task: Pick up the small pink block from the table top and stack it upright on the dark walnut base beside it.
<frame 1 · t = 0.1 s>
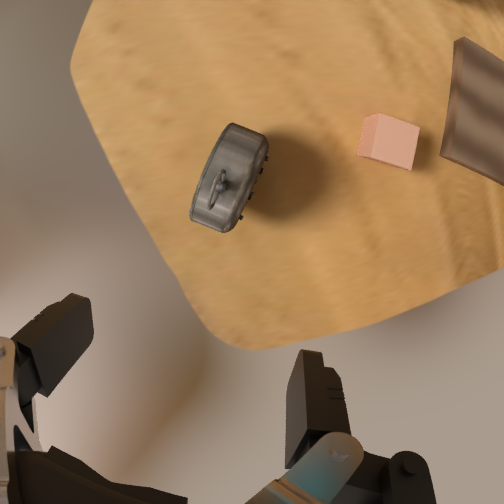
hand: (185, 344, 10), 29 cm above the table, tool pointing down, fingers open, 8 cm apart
walnut base: (495, 120, 30), on the table
alarm clock: (240, 173, 37), on the table
pink block: (379, 141, 34), on the table
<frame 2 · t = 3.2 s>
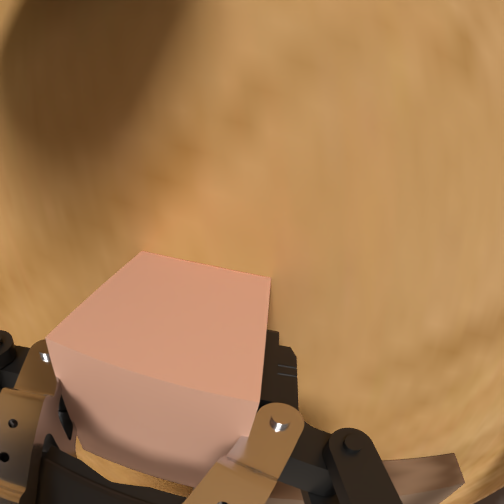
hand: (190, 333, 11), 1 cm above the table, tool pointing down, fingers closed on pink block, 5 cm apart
pink block: (197, 320, 12), on the table, touching gripper
when the fingers open (5 cm above the table, at t = 10.1 s): pink block drops 1 cm, resting on walnut base.
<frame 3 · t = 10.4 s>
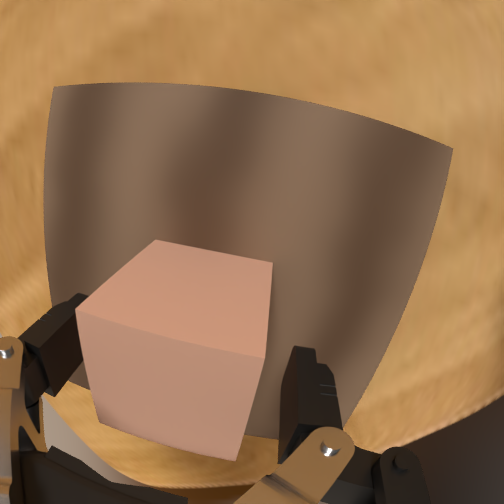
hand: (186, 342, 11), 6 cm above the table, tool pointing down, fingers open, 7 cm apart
walnut base: (217, 275, 16), on the table
pink block: (205, 303, 13), point 3 cm above the table, touching walnut base
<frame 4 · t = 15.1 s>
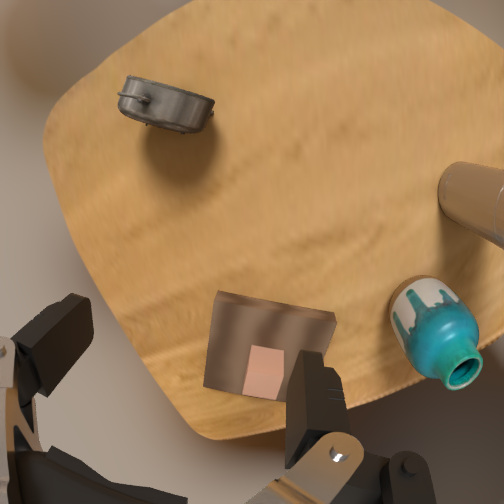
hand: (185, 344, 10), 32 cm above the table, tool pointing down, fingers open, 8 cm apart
vase: (411, 295, 44), on the table
walnut base: (265, 348, 49), on the table
alarm clock: (181, 110, 38), on the table
pink block: (264, 359, 46), point 3 cm above the table, touching walnut base
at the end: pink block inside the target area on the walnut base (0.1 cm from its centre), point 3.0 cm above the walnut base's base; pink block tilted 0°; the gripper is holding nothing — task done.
